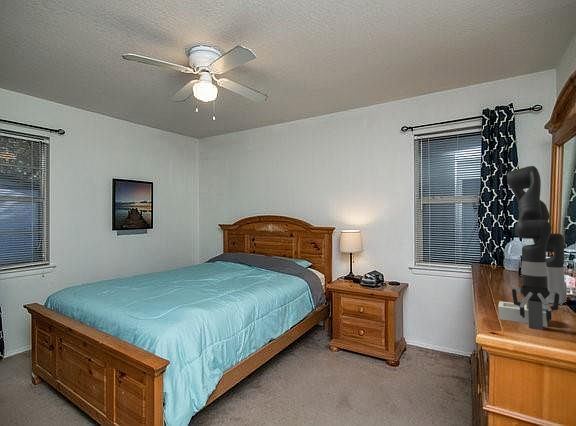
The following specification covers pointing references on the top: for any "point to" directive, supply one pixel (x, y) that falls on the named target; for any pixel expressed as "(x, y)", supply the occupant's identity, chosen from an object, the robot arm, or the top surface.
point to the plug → (535, 315)
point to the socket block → (515, 313)
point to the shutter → (542, 307)
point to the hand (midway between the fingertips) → (535, 318)
